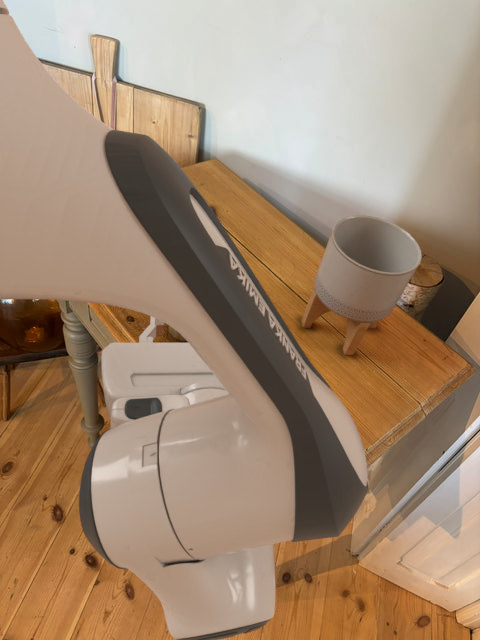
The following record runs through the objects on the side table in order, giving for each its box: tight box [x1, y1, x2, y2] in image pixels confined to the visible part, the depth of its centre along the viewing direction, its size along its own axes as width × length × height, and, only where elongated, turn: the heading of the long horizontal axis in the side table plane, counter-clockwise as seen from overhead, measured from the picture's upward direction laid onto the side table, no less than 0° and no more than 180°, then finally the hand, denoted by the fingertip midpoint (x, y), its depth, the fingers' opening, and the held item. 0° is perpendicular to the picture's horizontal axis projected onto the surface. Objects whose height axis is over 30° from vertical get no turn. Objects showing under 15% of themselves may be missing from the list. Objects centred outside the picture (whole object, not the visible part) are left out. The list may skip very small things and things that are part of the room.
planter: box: [300, 214, 422, 356], centre depth 72 cm, size 13×13×18 cm
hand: (199, 318), depth 52 cm, fingers open, 8 cm apart
